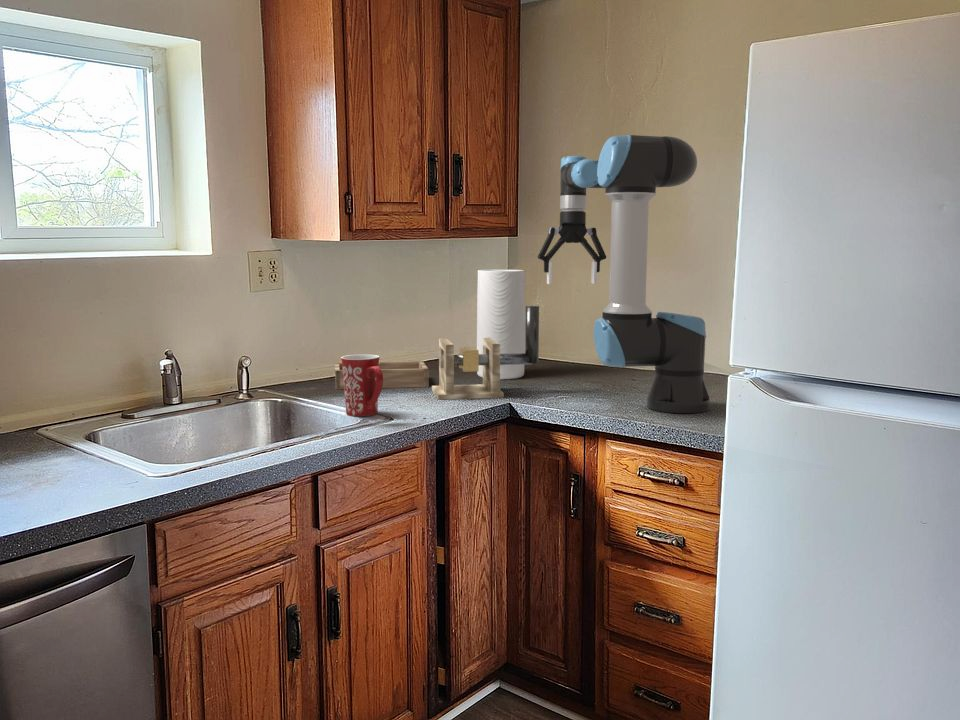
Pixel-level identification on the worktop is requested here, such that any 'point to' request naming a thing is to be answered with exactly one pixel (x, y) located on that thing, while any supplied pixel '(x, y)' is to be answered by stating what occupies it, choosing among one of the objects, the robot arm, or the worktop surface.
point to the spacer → (469, 358)
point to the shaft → (530, 344)
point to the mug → (362, 384)
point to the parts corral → (394, 374)
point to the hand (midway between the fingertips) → (571, 283)
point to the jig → (484, 390)
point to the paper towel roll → (502, 315)
